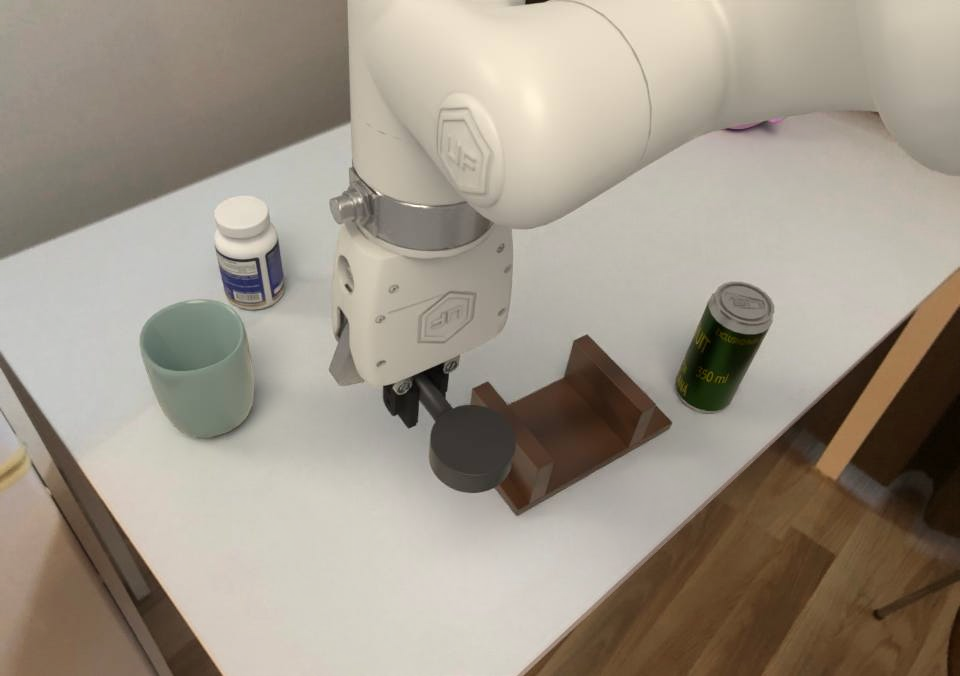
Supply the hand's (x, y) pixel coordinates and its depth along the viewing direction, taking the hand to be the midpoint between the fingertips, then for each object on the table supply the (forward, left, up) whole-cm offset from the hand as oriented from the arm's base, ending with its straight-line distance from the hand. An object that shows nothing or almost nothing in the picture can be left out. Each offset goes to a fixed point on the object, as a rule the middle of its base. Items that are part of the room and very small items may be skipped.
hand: (414, 405), depth 54 cm
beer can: (-4, -29, -13) cm, 32 cm away
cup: (+16, +10, -13) cm, 23 cm away
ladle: (0, 0, +2) cm, 2 cm away
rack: (-1, -15, -13) cm, 20 cm away
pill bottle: (+28, +1, -13) cm, 31 cm away
